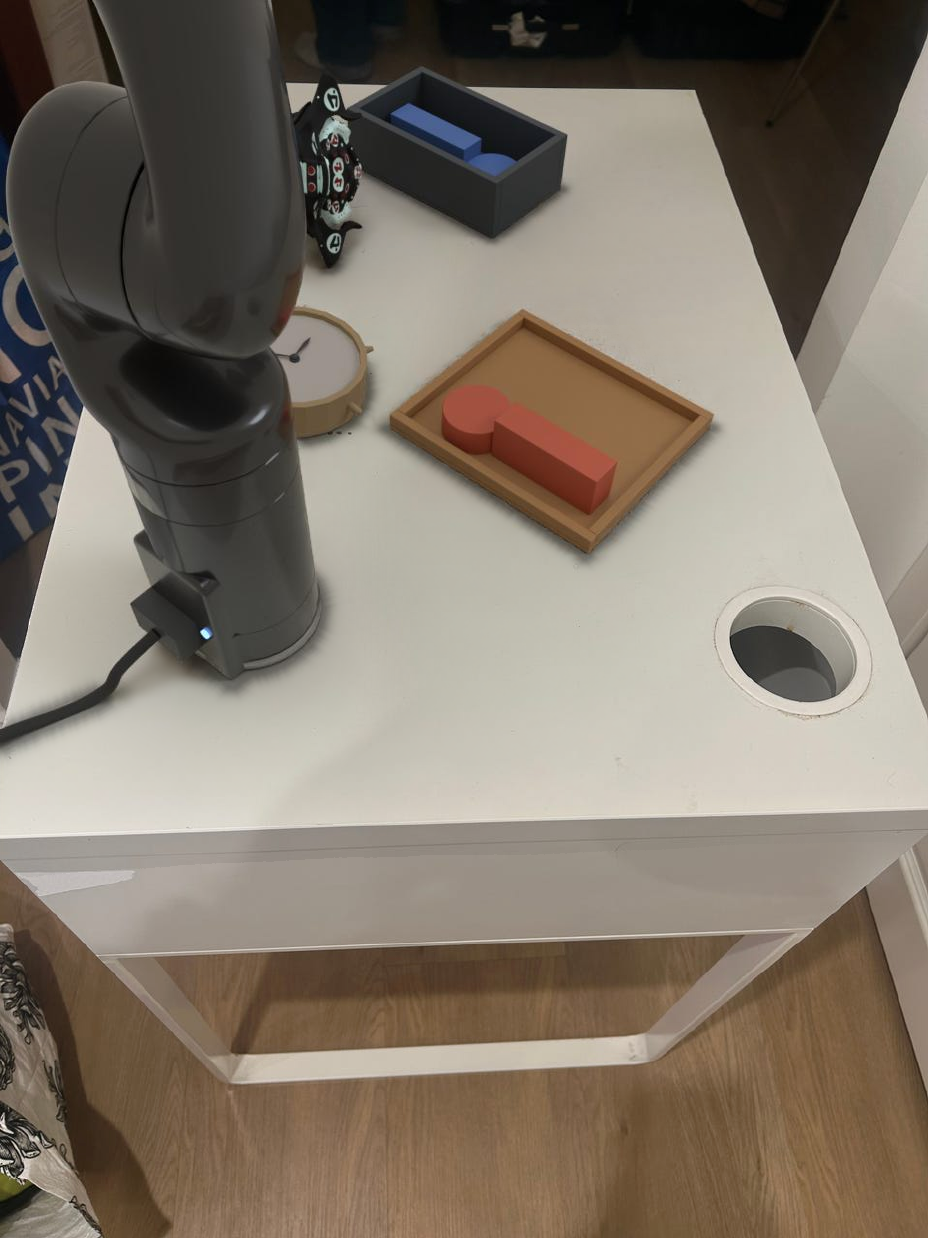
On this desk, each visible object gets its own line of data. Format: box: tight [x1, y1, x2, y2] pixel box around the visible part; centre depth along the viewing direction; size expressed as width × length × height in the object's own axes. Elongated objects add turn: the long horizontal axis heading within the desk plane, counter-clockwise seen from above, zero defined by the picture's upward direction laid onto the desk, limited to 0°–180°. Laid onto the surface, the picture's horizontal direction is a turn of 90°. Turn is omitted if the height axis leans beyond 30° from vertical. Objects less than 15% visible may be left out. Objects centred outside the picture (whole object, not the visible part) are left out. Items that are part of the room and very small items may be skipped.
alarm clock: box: [270, 305, 375, 438], centre depth 75 cm, size 11×5×15 cm
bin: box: [346, 65, 569, 239], centre depth 91 cm, size 11×18×5 cm, turn 51°
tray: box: [389, 308, 715, 554], centre depth 75 cm, size 17×19×1 cm
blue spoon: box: [391, 103, 516, 176], centre depth 92 cm, size 5×14×4 cm, turn 51°
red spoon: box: [442, 385, 617, 515], centre depth 71 cm, size 5×14×4 cm, turn 51°
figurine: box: [292, 70, 363, 269], centre depth 83 cm, size 10×15×14 cm
